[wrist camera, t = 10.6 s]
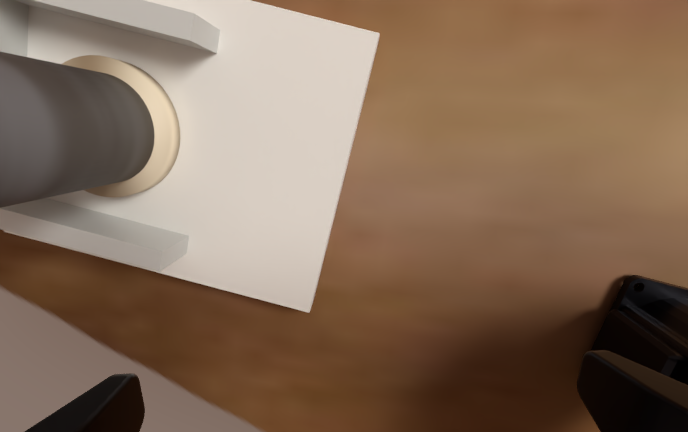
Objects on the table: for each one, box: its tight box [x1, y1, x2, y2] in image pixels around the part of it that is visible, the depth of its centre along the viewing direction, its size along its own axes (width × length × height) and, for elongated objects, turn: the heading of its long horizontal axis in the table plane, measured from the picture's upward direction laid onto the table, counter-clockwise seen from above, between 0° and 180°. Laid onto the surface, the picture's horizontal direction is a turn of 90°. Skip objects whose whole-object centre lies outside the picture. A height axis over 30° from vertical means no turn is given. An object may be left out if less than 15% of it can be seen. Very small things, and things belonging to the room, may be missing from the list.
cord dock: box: [0, 0, 380, 313], centre depth 17 cm, size 17×14×4 cm
